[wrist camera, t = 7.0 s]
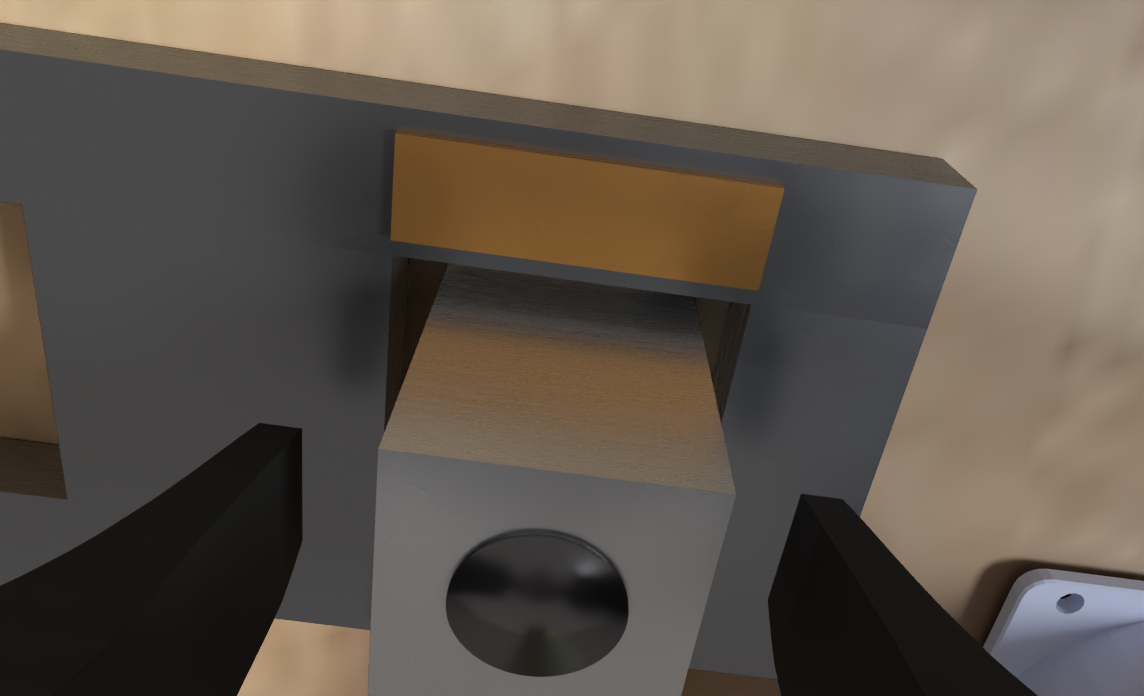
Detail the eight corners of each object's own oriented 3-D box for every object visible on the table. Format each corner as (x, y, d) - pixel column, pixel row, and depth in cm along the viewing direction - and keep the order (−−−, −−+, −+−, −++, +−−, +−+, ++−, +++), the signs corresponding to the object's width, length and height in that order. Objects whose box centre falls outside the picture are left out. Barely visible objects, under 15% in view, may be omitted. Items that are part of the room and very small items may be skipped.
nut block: (690, 277, 16) (737, 500, 10) (648, 469, 17) (670, 742, 12) (455, 245, 15) (376, 453, 10) (439, 442, 17) (365, 707, 12)
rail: (942, 158, 14) (983, 194, 13) (786, 624, 19) (802, 690, 18) (-510, -51, 14) (-649, -40, 12) (-300, 490, 18) (-380, 547, 17)
